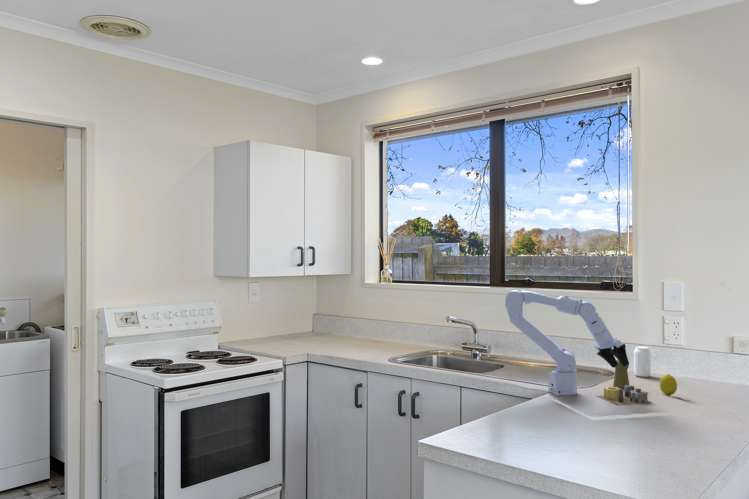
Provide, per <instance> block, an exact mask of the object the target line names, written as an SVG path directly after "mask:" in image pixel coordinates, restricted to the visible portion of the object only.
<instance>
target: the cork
mask: <svg viewBox="0 0 749 499" xmlns="http://www.w3.org/2000/svg"><path fill="white" fill-rule="evenodd" d="M616 361H617V363H618V365H617V366H615V367H614V378H613V386H612V387H618V388H619V389H621V390H624V386H625V385H630V379H629V374H628V369H629V368H630V363H629V364H628V365H627V366H625V367H624V366H623V365H622V364H621V363H620V361H619V360H618V359H616Z"/></svg>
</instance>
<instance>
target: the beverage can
mask: <svg viewBox="0 0 749 499" xmlns="http://www.w3.org/2000/svg"><path fill="white" fill-rule="evenodd" d="M651 356H652V355H651V350H650V349H649V347H648V346H642V345H641V346H639V345H637V346H635V349H634V350H633V374H634V375H635V376H636V377H637V378H649V377H650V376H651V366H652V364H651V360H652V359H651Z"/></svg>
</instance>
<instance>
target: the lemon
mask: <svg viewBox="0 0 749 499" xmlns="http://www.w3.org/2000/svg"><path fill="white" fill-rule="evenodd" d="M659 388H660V391H661V392H662V393H663V394H665V395H666V396H668V397H671V395H674V394H675V393H676V392H677V389H678V384H677V380H676V378H675V377H674V376H673V375H671V374H669V373H666V374H665V375H663V376H662V377H661V378H660V381H659Z"/></svg>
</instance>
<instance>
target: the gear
mask: <svg viewBox="0 0 749 499" xmlns="http://www.w3.org/2000/svg"><path fill="white" fill-rule="evenodd" d="M618 390H622V389H619V388H618V387H613V386H605V387H603V395H604V397H606V398H611V399H618Z"/></svg>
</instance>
